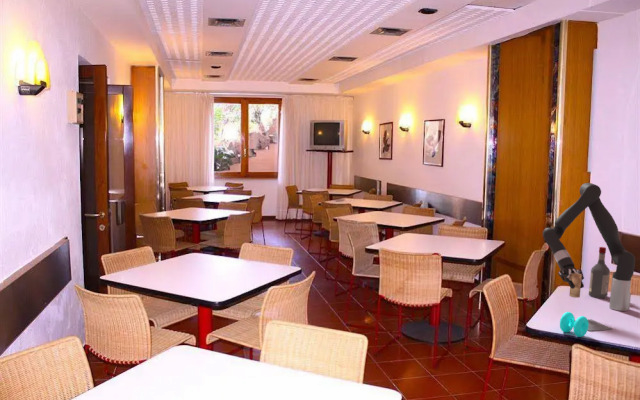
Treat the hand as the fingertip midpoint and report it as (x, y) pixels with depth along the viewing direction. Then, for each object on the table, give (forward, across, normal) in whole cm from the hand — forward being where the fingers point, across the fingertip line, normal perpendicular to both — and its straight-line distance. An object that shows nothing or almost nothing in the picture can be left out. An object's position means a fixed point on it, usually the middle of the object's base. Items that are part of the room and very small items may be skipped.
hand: (577, 287), depth 288 cm
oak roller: (+2, 0, +5) cm, 6 cm away
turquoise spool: (+27, -20, -4) cm, 34 cm away
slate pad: (+21, -2, +2) cm, 21 cm away
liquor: (-10, +42, +34) cm, 55 cm away
